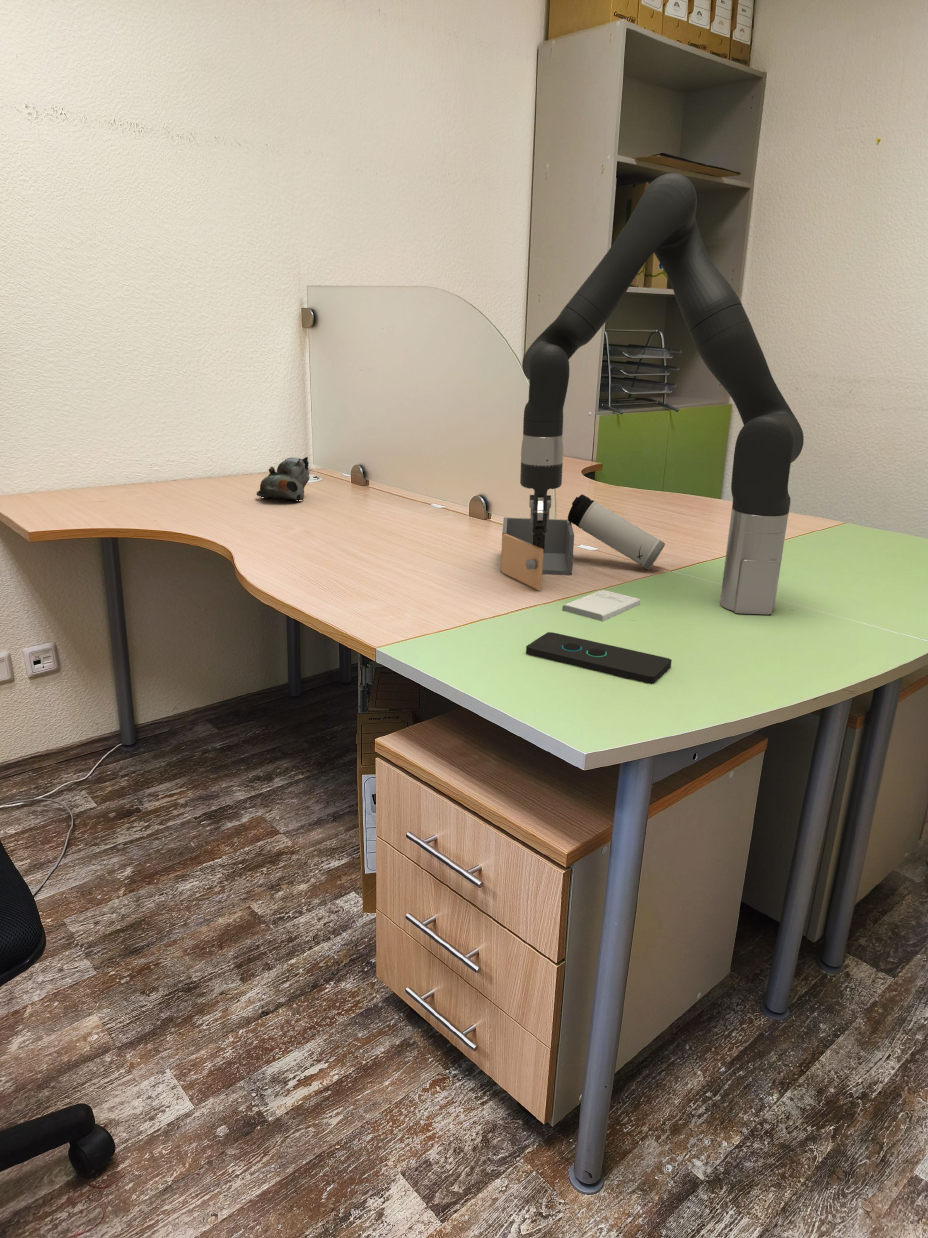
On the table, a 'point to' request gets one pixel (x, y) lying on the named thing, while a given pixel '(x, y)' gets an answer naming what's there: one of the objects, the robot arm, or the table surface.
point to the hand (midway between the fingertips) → (538, 552)
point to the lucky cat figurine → (286, 480)
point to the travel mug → (615, 531)
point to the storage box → (547, 542)
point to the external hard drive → (601, 605)
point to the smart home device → (599, 657)
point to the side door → (522, 561)
